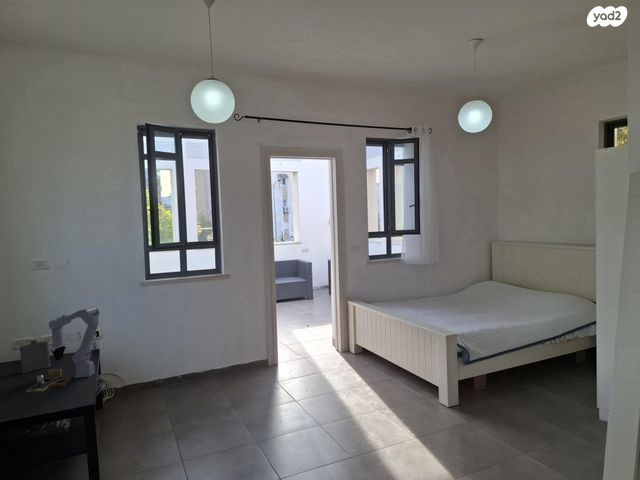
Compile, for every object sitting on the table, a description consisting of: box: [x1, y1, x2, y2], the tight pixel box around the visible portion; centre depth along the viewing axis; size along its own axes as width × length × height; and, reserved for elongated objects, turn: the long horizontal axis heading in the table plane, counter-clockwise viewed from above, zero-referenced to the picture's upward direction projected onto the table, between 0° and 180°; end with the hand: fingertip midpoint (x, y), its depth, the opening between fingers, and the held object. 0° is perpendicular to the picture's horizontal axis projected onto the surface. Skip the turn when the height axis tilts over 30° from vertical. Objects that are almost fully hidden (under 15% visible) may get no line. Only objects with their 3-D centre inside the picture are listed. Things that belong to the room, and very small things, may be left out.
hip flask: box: [19, 339, 51, 374], centre depth 284 cm, size 16×4×20 cm, turn 132°
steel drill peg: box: [36, 374, 45, 385], centre depth 249 cm, size 4×4×7 cm
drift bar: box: [29, 368, 63, 389], centre depth 255 cm, size 20×8×4 cm, turn 4°
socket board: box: [26, 380, 55, 393], centre depth 249 cm, size 9×12×2 cm
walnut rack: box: [50, 378, 72, 388], centre depth 253 cm, size 8×8×2 cm
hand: (59, 359), depth 269 cm, fingers open, 3 cm apart
